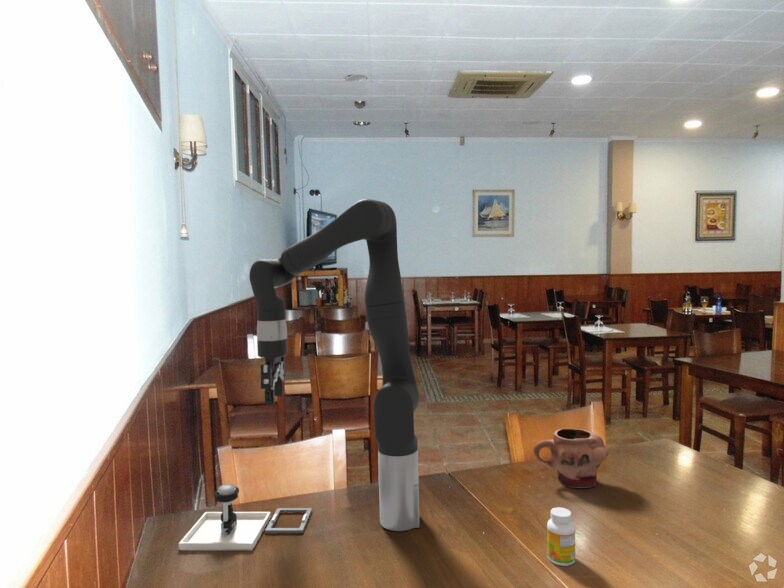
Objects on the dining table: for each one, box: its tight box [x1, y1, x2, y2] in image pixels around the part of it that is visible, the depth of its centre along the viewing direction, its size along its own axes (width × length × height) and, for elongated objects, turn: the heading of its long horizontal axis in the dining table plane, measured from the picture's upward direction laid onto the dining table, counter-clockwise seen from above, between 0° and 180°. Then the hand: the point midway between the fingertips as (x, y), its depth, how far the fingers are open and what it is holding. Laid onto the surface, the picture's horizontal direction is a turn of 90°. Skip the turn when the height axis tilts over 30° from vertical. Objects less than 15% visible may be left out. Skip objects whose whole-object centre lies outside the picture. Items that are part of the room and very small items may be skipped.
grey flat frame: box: [264, 507, 313, 535], centre depth 120 cm, size 9×11×1 cm
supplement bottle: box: [546, 506, 576, 567], centre depth 102 cm, size 5×5×10 cm
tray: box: [178, 511, 272, 551], centre depth 115 cm, size 16×14×2 cm
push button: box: [214, 483, 240, 537], centre depth 115 cm, size 7×5×10 cm
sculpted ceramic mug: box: [533, 428, 610, 489], centre depth 137 cm, size 20×12×14 cm, turn 95°
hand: (274, 400), depth 130 cm, fingers open, 8 cm apart
